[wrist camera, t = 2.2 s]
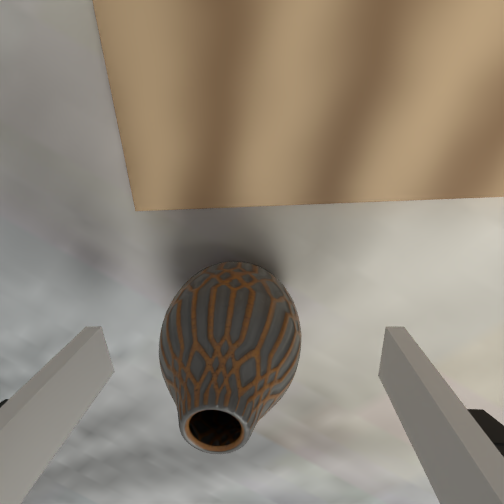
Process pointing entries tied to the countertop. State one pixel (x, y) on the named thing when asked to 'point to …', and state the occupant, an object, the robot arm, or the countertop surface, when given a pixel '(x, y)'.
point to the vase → (228, 353)
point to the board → (306, 100)
